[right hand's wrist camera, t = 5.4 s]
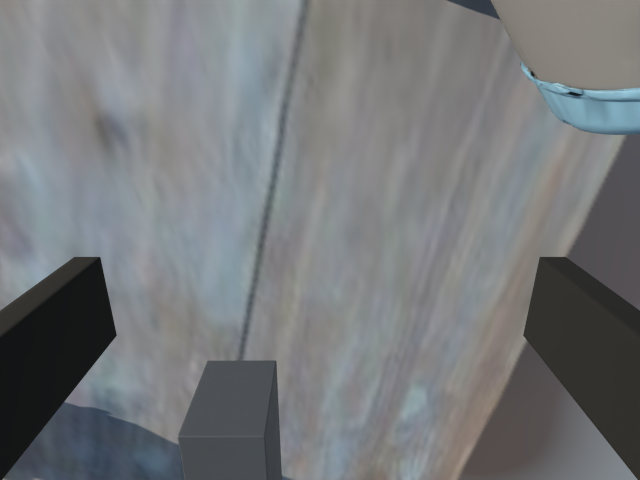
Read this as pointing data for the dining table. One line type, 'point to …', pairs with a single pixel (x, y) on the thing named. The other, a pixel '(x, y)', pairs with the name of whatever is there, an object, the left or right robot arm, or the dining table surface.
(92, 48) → the dining table surface
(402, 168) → the dining table surface
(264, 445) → the bar
